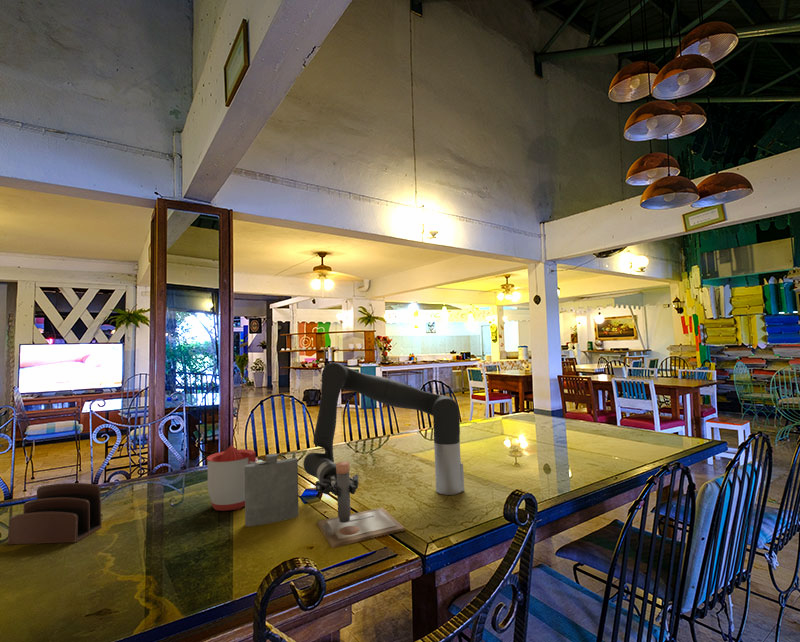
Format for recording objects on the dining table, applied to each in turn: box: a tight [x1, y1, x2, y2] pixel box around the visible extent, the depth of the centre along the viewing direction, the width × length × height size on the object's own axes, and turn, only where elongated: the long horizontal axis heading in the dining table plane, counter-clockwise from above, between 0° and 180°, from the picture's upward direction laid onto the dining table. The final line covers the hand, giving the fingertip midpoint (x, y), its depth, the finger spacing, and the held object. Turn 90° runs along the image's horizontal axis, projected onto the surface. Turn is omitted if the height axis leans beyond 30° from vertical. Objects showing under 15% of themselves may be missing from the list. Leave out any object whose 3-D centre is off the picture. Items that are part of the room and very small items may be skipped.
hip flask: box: [244, 453, 300, 527], centre depth 129 cm, size 16×4×20 cm, turn 115°
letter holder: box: [7, 482, 102, 546], centre depth 123 cm, size 10×20×14 cm, turn 89°
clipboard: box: [316, 507, 406, 549], centre depth 121 cm, size 21×17×2 cm
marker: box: [336, 461, 352, 523], centre depth 120 cm, size 4×4×16 cm
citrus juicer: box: [206, 445, 257, 512], centre depth 143 cm, size 16×17×20 cm
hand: (346, 491), depth 118 cm, fingers closed on marker, 3 cm apart
